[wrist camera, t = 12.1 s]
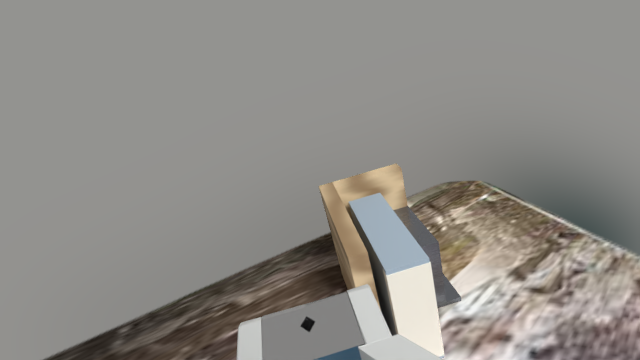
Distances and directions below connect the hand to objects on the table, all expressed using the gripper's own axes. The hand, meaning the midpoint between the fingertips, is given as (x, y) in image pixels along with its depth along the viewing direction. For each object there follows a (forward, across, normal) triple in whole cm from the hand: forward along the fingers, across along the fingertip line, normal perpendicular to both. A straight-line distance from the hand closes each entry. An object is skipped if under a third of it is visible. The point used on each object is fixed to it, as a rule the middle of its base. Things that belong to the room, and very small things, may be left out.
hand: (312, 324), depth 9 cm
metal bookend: (+35, -13, +32) cm, 49 cm away
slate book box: (+31, -9, +32) cm, 46 cm away
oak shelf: (+33, -8, +32) cm, 47 cm away
